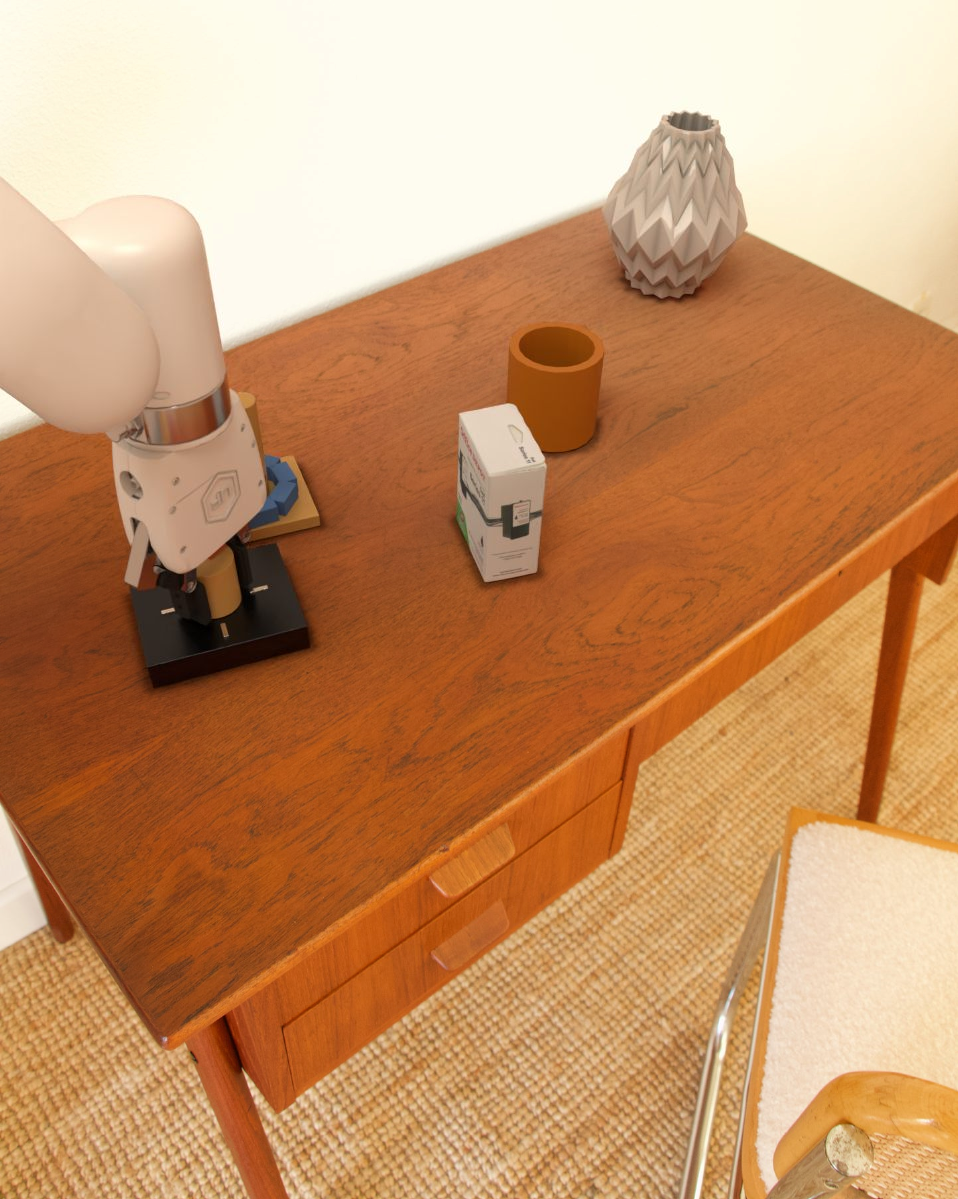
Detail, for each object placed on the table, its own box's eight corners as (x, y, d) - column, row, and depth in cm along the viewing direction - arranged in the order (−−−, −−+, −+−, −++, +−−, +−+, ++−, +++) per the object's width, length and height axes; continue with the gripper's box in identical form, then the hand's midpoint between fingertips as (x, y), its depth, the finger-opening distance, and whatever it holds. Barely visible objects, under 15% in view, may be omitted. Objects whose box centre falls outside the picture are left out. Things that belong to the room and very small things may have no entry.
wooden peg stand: (217, 549, 87) (195, 443, 79) (197, 485, 92) (174, 380, 84) (320, 525, 89) (309, 420, 81) (294, 464, 95) (281, 361, 87)
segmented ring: (217, 540, 86) (214, 525, 85) (187, 482, 91) (184, 468, 90) (310, 511, 89) (309, 496, 88) (276, 457, 94) (274, 443, 93)
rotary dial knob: (218, 626, 77) (208, 581, 74) (178, 606, 78) (166, 561, 75) (252, 594, 80) (243, 549, 76) (212, 575, 81) (202, 530, 77)
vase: (721, 252, 127) (754, 96, 113) (739, 321, 115) (778, 156, 102) (590, 245, 127) (609, 88, 114) (595, 314, 115) (617, 148, 102)
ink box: (454, 518, 90) (456, 407, 82) (506, 509, 91) (514, 398, 83) (483, 586, 85) (489, 474, 76) (539, 575, 86) (551, 463, 77)
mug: (630, 410, 103) (644, 331, 96) (558, 465, 96) (567, 384, 90) (560, 376, 107) (568, 298, 100) (486, 426, 100) (489, 346, 94)
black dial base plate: (153, 688, 76) (146, 665, 74) (133, 598, 82) (126, 574, 80) (310, 647, 79) (307, 624, 77) (279, 563, 86) (276, 540, 84)
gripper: (122, 489, 59) (178, 688, 72) (296, 355, 70) (318, 551, 83) (28, 447, 62) (100, 647, 75) (210, 324, 72) (245, 519, 85)
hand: (214, 595), depth 79 cm, fingers closed on rotary dial knob, 4 cm apart
